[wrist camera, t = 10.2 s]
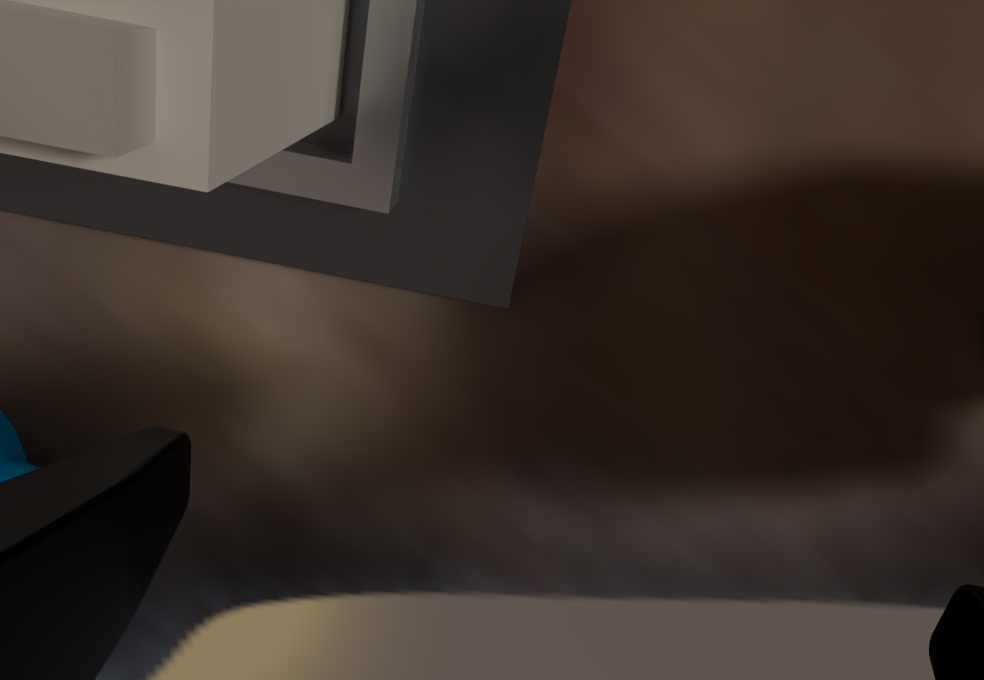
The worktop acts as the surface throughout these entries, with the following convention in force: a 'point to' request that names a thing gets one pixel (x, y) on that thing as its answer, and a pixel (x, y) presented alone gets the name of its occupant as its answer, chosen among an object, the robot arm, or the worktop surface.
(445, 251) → the patch board
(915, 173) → the worktop surface
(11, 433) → the mug
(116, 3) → the plug
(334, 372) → the worktop surface
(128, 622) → the robot arm
